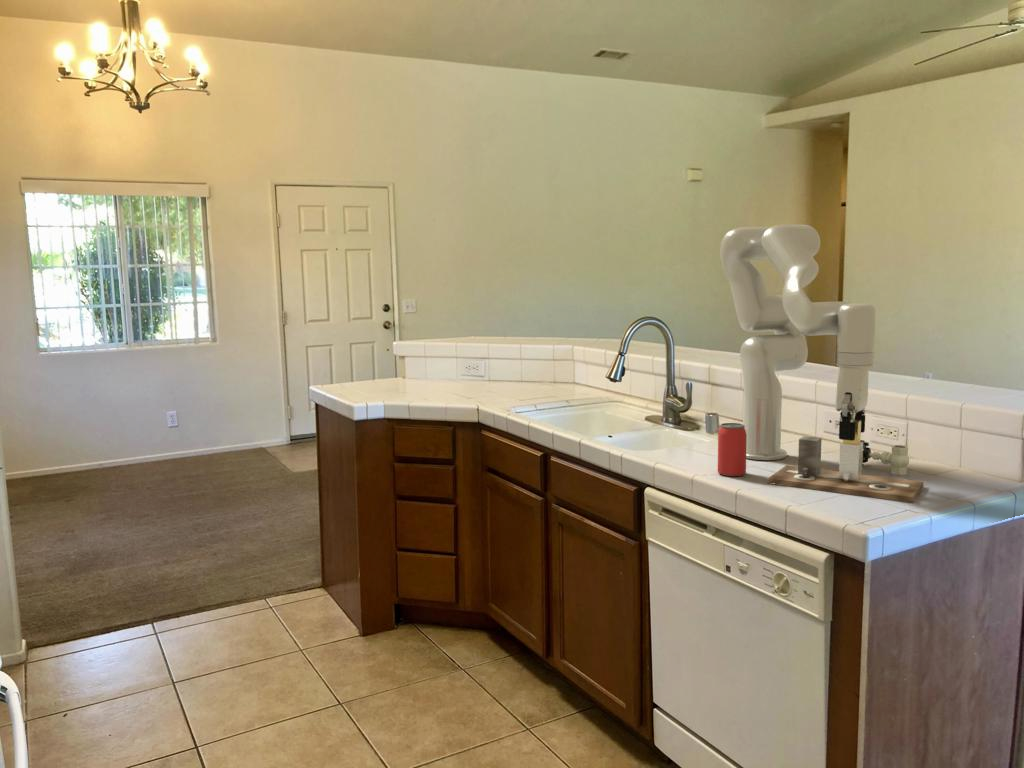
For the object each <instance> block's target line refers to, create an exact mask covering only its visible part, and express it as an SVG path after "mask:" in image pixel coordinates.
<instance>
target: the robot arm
mask: <svg viewBox="0 0 1024 768" xmlns="http://www.w3.org/2000/svg"><path fill="white" fill-rule="evenodd" d="M820 247H821V239H820V234H819V233H818V231H817V230H816V229H815V228H814V227H813V226H811V225H808V224H777V225H773V226H744V227H742V226H741V227H736V228H734V229H731V230H729V231H728V232H726V234H724V236H723V238H722V240H721V244H720V250H719V256H720V262H721V266H722V269H723V272H724V273H725V276H726V278H727V281H728V284H729V287H730V291H731V295H732V300H733V304H734V308H735V312H736V318H737V319H738V323H739V326H740V327H741V328H740V329H742V330H743V331H745V332H750V333H765V332H766V333H767V332H773V334H761V335H754V336H751V337H749V338H747V339H746V340H745V341H744V342H743V343H742V345H741V346H740V350H739V351H740V352H739V355H740V356H739V357H740V363H741V368H742V369H741V370H742V376H743V409H742V410H743V412H742V413H743V414H742V421H743V422H742V424H743V425H744V426H745V427H744V428H745V431H746V434H747V443H746V460H747V459H748V460H754V461H778V460H782V459H785V458H786V457H787V456H788V455H787V450H785V449H783V448H781V444H782V442H781V440H782V439H781V438H782V436H781V435H782V408H783V407H782V404H783V400H782V399H783V391H782V390H783V389H782V385H781V382H780V381H779V379H778V377H777V375H776V372H780V371H781V372H783V371H793V370H794V371H795V370H798V369H801V368H802V367H803V366H804V365H805V364H806V362H807V360H808V354H809V348H808V344H807V343H808V342H807V338H806V336H808V337H809V336H810V337H811V336H813V337H814V336H833V335H836V336H837V339H836V363H835V364H836V365H835V366H836V367H838V368H839V369H838V376H837V382H836V395H835V396H836V397H835V410H836V412H840V413H839V425H838V439H839V440H842V441H843V440H851V441H853V440H855V424H856V422H854V420H861V433H865V432H866V431H865V429H866V415H865V414H866V407H867V405H868V400H869V399H868V397H869V396H868V395H869V368H874V362H875V360H874V355H875V353H874V352H875V337H876V336H875V335H876V334H875V333H876V332H875V331H876V307H875V306H874V305H872V304H870V303H853V302H848V301H817V302H816V301H815V302H812V301H811V300H810V299H809V297H808V296H807V295H806V293H805V291H804V290H803V289H804V288H805V287H807V286H808V285H810V284H811V283H812V282H813V281H814V280H815V279H816V277H817V276H818V274H819V270H820V268H819V267H820V266H819V264H818V262H817V261H816V260H815V258H814V257H815V255H817V253H819V251H820ZM765 260H766V261H767V260H769V261H770V263H771V264H772V266H773V268H774V269H775V270H776V272H777V273H778V275H779V277H780V278H781V280H782V281H783V282H784V286H783V287H782V293H781V294H769V293H768V292H767V289H766V285H765V281H764V278H763V276H762V274H761V273H760V271H759V270H758V269H757V268H756V266H754V265H753V264H752V262H751V261H765Z"/></svg>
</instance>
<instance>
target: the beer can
mask: <svg viewBox="0 0 1024 768" xmlns="http://www.w3.org/2000/svg"><path fill="white" fill-rule="evenodd" d="M719 425H720V428H719V429H718V433H717V435H718V436H717V472H718V473H720V475H721V474H722V475H721V476H724V475H726V476H725V477H729V476H738V477H743V476H744V475H745V474H746V473H747V458H746V443H747V434H746V431H745V428H744V427H745V426H744V425H743V423H738V422H724V423H721V424H719Z"/></svg>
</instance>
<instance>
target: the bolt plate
mask: <svg viewBox="0 0 1024 768" xmlns="http://www.w3.org/2000/svg"><path fill="white" fill-rule="evenodd" d="M822 439H823V438H822V437H818V436H817V437H816V436H807V435H806V436H805V435H803V436H802V437H800V438H799V439H798V454H797V455H798V461H797V466H795V465H794V466H793V465H785V466H782V468H780V469H779V470H778V471H776V472H775V473H773V474H772V475H770V476H769V477H767V484H769V483H775V484H774V485H777V484H781V485H780V486H784V485H787V486H786V487H792V486H793V487H792V488H801V489H806V490H807V489H808V490H815V491H823V492H828V493H829V492H830V493H835V494H836V493H837V494H844V495H845V494H846V495H852V496H859V497H860V496H861V497H866V498H873V499H875V498H876V499H882V500H889V501H894V502H895V501H897V502H903V503H904V502H905V503H912V504H913V503H914V502H915V501H916V499H917V497H918V496H919V494H920V493H921V491H922V490H923V489H924V485H925V484H924V483H925V481H920V480H912V479H904V478H903V479H902V478H896V477H895V478H894V477H889V476H888V477H887V476H878V475H877V476H876V475H869V474H863V473H862V477H861V478H860V479H859V480H858V481H857V480H849V479H848V481H844V479H841V478H839V470H838V471H836V470H828V469H821V468H822V467H821V465H822Z"/></svg>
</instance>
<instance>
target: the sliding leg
mask: <svg viewBox="0 0 1024 768" xmlns="http://www.w3.org/2000/svg"><path fill="white" fill-rule="evenodd" d="M854 422H856V424H855V440H853V441H851V440H842V441H841V442H839V464H838V465H839V466H838V472H839V478H841V479H844V481H848V479H849V480H857V481H858V480H859V479H860V478H861V477H862V474H863V467H862V464H863V463H862V460H863V442H860V440H862V439H861V437H862V435H861V420H854Z"/></svg>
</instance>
